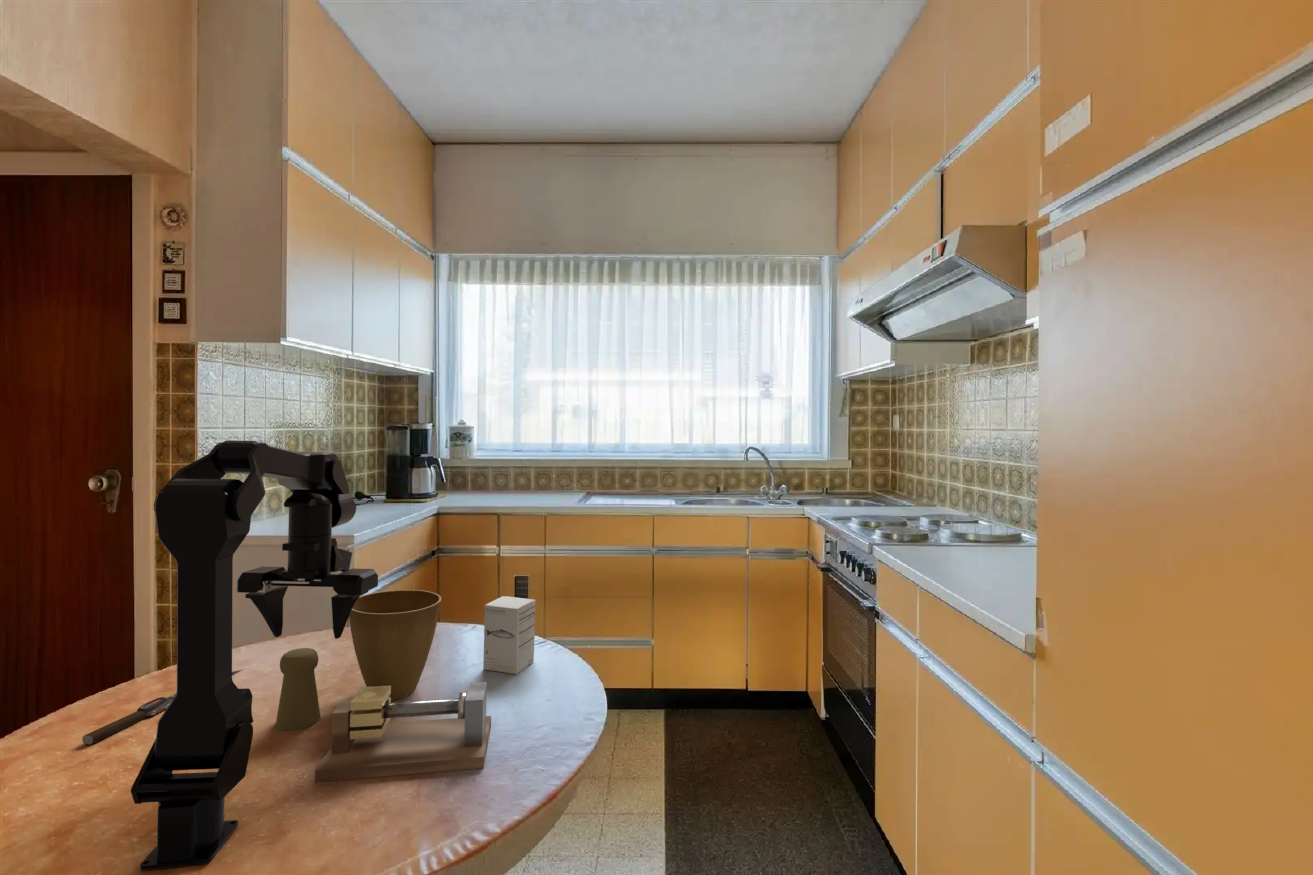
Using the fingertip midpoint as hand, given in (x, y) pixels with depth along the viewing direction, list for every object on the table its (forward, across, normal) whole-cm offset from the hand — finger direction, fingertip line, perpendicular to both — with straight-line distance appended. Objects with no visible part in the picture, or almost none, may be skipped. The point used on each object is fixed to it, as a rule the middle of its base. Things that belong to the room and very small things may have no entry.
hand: (308, 637), depth 91 cm
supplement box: (+14, -24, -26) cm, 38 cm away
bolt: (+12, -19, +5) cm, 23 cm away
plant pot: (+14, -7, -14) cm, 21 cm away
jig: (+14, -18, +5) cm, 24 cm away
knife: (+14, +27, -8) cm, 31 cm away
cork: (+14, +3, -2) cm, 15 cm away
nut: (+11, -13, +6) cm, 18 cm away
